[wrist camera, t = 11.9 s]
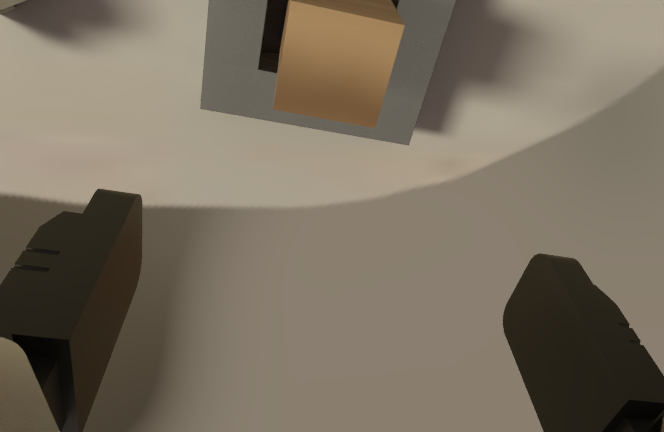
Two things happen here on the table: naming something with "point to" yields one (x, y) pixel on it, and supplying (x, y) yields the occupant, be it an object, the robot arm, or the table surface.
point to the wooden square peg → (337, 58)
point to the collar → (261, 67)
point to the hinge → (8, 5)
